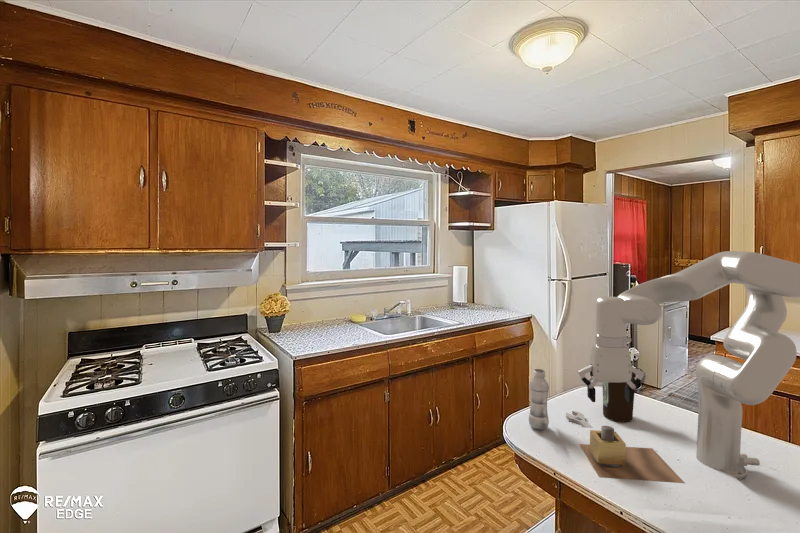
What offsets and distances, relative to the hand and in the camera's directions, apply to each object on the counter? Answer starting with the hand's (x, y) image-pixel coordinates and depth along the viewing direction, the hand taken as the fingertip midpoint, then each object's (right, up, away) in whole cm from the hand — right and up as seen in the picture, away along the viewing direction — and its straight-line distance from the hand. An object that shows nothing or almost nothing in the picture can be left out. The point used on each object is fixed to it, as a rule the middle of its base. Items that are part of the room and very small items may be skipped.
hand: (610, 400), depth 111 cm
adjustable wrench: (+4, -18, +22) cm, 29 cm away
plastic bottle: (-12, -18, +24) cm, 32 cm away
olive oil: (+20, -17, +32) cm, 41 cm away
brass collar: (0, -17, +1) cm, 17 cm away
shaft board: (+5, -19, +1) cm, 20 cm away
